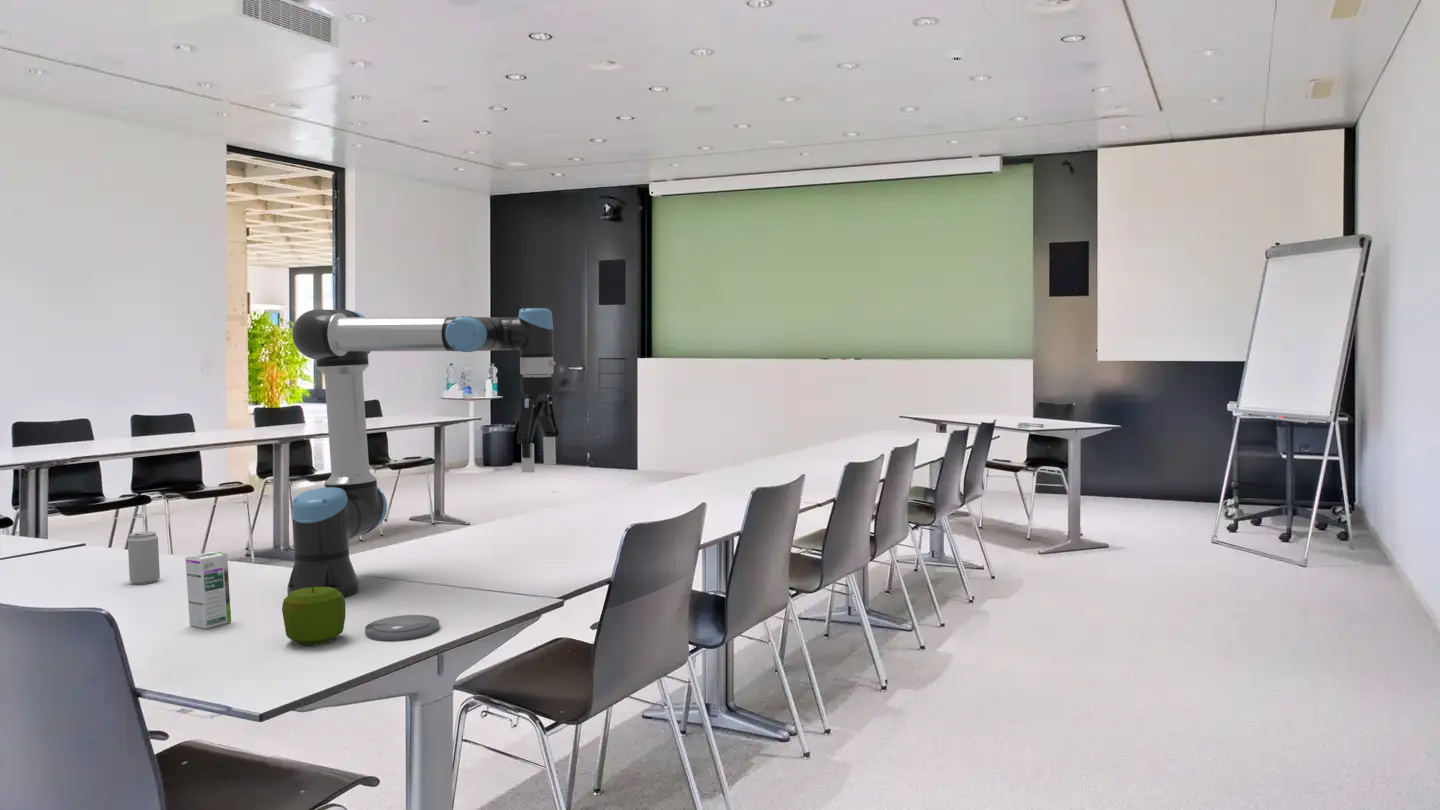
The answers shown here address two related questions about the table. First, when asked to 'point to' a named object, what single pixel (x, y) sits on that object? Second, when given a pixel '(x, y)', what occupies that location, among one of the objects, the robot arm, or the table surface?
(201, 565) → the syrup box
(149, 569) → the beverage can
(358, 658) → the table surface
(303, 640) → the apple
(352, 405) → the robot arm
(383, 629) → the slate plate
